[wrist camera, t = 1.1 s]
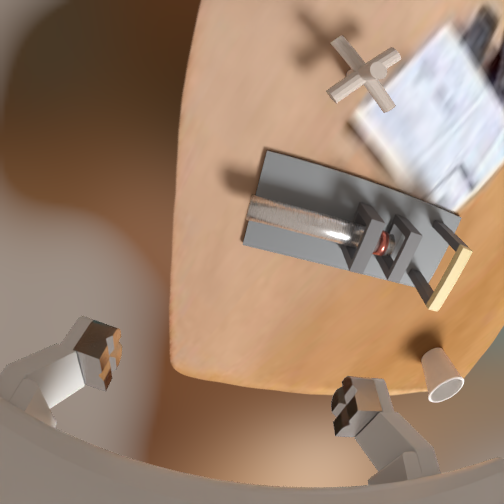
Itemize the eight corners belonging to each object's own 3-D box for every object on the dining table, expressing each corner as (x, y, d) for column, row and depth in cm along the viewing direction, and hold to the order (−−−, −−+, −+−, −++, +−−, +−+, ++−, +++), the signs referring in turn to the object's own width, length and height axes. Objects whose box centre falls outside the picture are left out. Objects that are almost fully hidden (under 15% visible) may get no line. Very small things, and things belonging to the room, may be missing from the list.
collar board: (267, 150, 38) (265, 166, 30) (459, 216, 40) (491, 244, 31) (243, 242, 45) (235, 280, 36) (423, 287, 47) (444, 323, 38)
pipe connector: (402, 88, 32) (438, 89, 23) (347, 127, 36) (370, 137, 27) (356, 27, 29) (382, 9, 20) (298, 66, 32) (307, 56, 23)
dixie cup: (409, 368, 57) (421, 403, 48) (427, 342, 53) (443, 378, 44) (436, 368, 57) (449, 401, 49) (454, 343, 53) (471, 377, 45)
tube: (253, 190, 39) (251, 199, 36) (390, 229, 40) (398, 240, 37) (246, 214, 41) (244, 225, 37) (380, 250, 42) (388, 262, 39)
